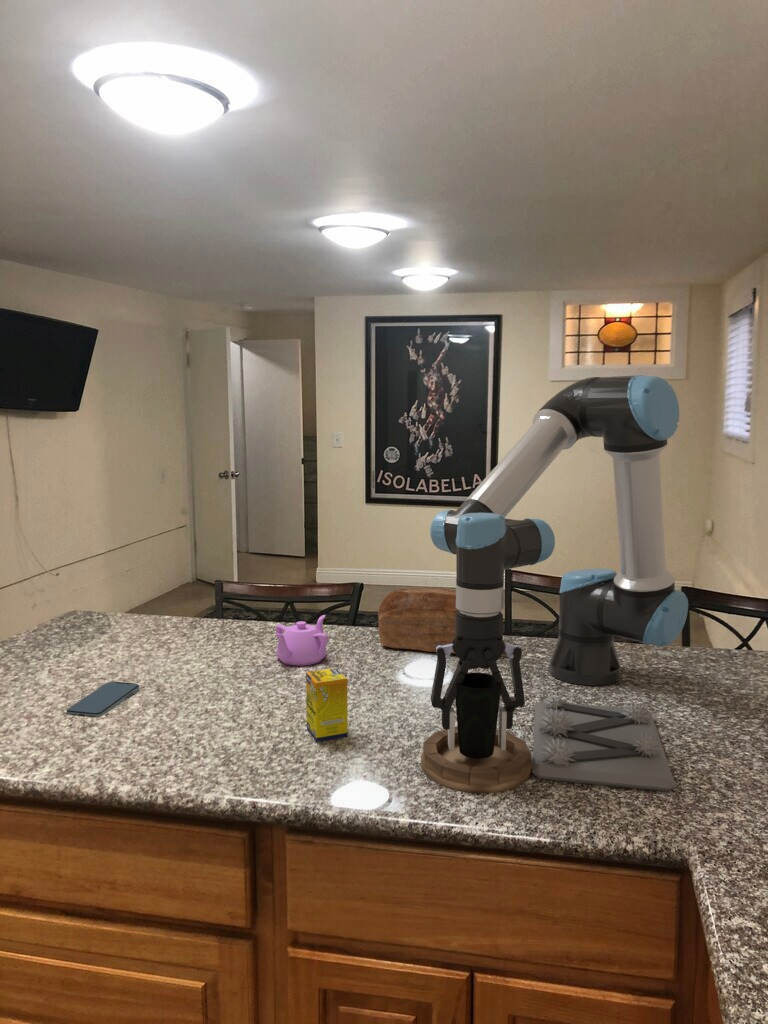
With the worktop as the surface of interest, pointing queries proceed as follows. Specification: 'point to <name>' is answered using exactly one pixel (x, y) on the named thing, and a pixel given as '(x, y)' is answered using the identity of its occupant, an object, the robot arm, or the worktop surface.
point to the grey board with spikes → (599, 746)
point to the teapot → (301, 643)
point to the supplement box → (326, 704)
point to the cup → (477, 714)
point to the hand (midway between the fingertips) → (476, 746)
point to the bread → (417, 618)
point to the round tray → (476, 765)
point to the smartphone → (103, 699)
